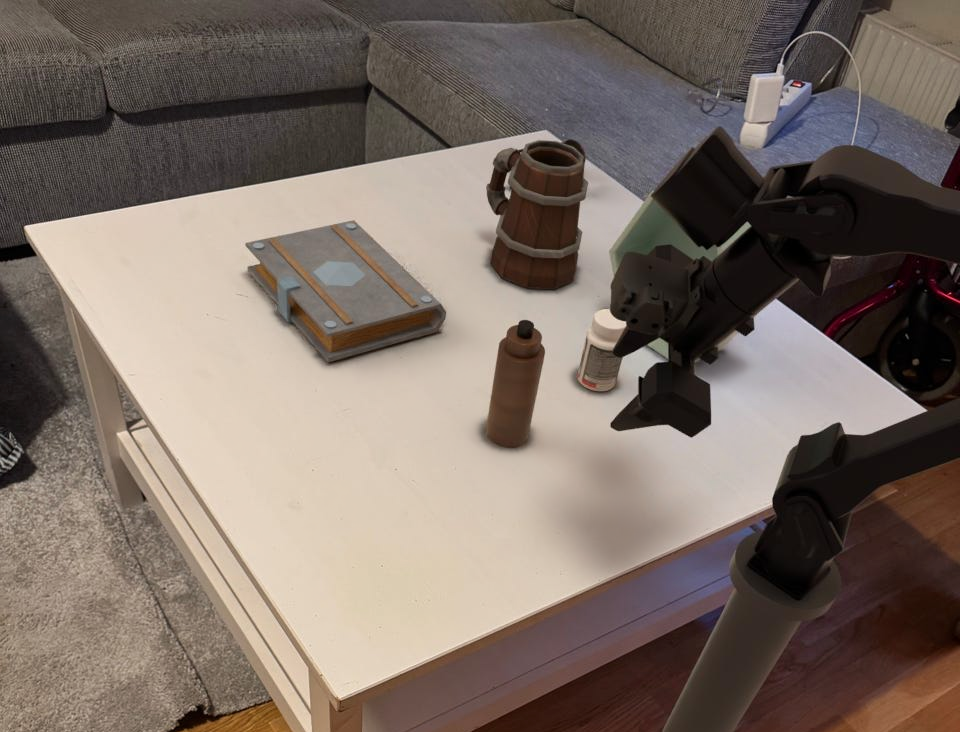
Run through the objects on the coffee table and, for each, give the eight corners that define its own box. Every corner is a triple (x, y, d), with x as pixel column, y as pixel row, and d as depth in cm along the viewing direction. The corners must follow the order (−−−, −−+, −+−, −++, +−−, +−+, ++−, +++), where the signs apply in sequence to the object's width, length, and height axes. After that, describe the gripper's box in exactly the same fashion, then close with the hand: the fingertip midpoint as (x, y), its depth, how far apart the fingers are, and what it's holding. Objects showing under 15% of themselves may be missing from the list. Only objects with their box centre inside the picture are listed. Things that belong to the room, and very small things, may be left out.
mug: (592, 273, 126) (618, 161, 114) (533, 300, 120) (553, 185, 108) (512, 223, 132) (528, 112, 120) (451, 246, 126) (462, 132, 114)
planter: (632, 371, 120) (598, 204, 111) (670, 352, 124) (640, 189, 115) (739, 366, 107) (711, 176, 98) (778, 345, 111) (754, 160, 102)
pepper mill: (535, 442, 102) (558, 333, 91) (497, 451, 100) (516, 341, 89) (516, 416, 104) (535, 307, 93) (478, 424, 102) (494, 314, 92)
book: (444, 332, 113) (448, 295, 109) (325, 366, 106) (324, 328, 102) (359, 249, 122) (360, 212, 118) (244, 274, 115) (241, 236, 111)
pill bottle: (622, 388, 110) (640, 327, 103) (589, 395, 108) (605, 333, 102) (602, 365, 112) (618, 304, 106) (569, 372, 111) (583, 310, 104)
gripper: (663, 158, 76) (551, 280, 88) (665, 320, 67) (540, 431, 79) (758, 227, 81) (640, 334, 93) (770, 386, 72) (638, 481, 84)
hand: (614, 390), depth 87 cm, fingers open, 9 cm apart
